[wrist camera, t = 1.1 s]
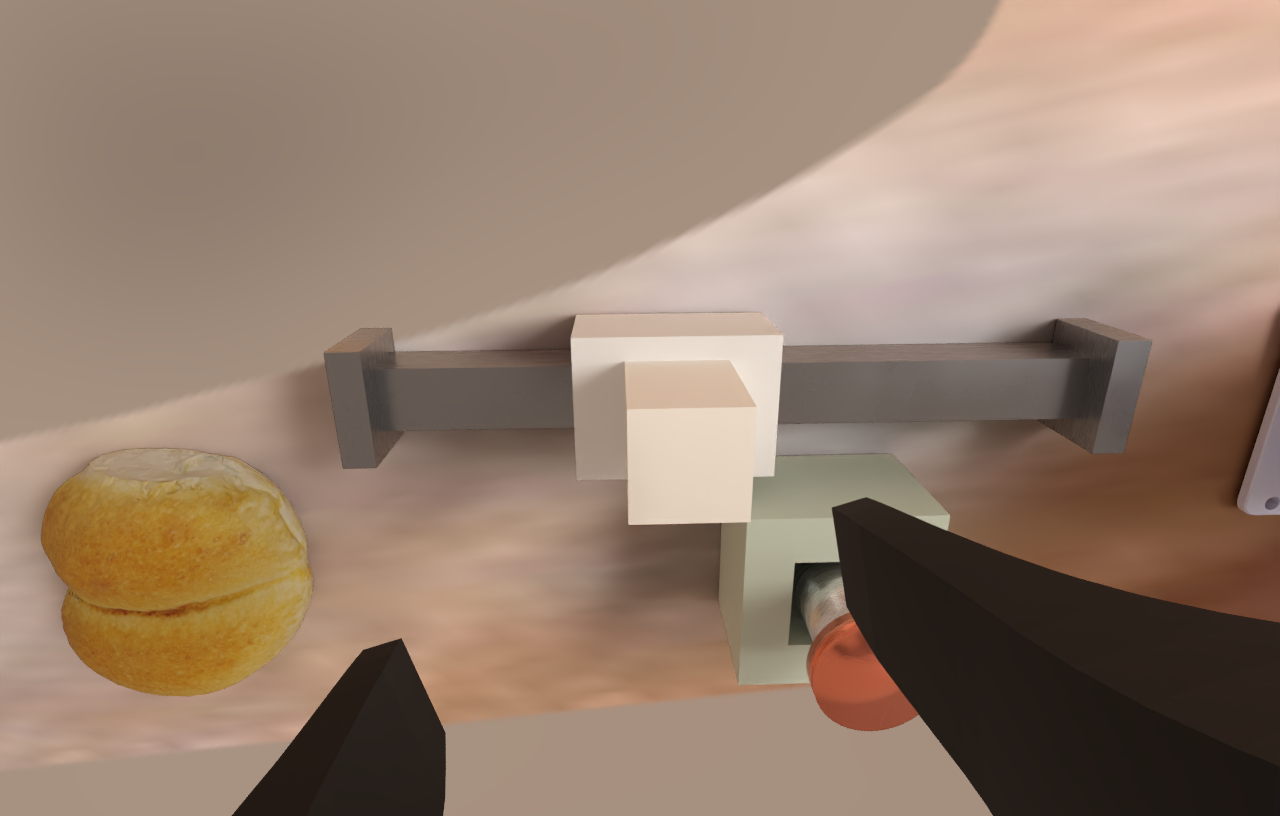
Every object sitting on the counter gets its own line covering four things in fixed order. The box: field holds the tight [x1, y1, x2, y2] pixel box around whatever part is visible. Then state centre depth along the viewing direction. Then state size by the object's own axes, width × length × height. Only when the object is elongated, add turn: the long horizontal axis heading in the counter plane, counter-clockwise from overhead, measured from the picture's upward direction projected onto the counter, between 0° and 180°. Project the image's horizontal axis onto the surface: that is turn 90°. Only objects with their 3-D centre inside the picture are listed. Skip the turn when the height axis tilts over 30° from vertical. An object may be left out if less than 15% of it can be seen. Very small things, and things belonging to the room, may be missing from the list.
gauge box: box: [719, 454, 950, 685], centre depth 23 cm, size 6×6×4 cm
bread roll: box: [41, 448, 313, 696], centre depth 23 cm, size 8×9×4 cm
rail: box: [324, 319, 1152, 469], centre depth 22 cm, size 24×4×3 cm, turn 90°
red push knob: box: [792, 562, 919, 731], centre depth 20 cm, size 3×3×5 cm
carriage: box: [571, 312, 783, 525], centre depth 20 cm, size 6×4×7 cm
